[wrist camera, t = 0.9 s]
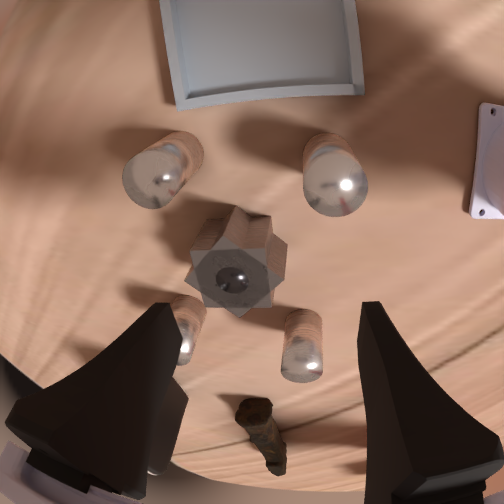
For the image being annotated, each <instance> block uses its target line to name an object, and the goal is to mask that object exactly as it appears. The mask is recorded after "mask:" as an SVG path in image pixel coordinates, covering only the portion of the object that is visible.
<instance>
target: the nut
mask: <svg viewBox="0 0 504 504" xmlns="http://www.w3.org/2000/svg"><path fill="white" fill-rule="evenodd" d="M287 245H288V244H286V243H285V242H284V241H282V240H281V239H280V238H278V237H277V236H276V235H275V234H273V228H272V219H271V216H264V217H251V216H250V215H248V214H247V213H246V212H244V211H243V210H242V209H240V208H239V207H238V206H235V207H234V208H233V210H232V211H231V212H230V213H229V214H228V215H227V217H226V218H225V219H209V220H206V222H205V223H204V225H203V227H202V229H201V231H200V232H199V234H198V236H197V238H196V240H195V241H194V243H193V245H192V247H191V249H190V255H191V259H192V263H193V264H192V266H191V268H190V270H189V272H188V274H187V276H186V278H185V280H184V281H185V282H186V283H188V284H189V285H191V286H192V287H194V288H195V289H197V290H198V291H200V292H201V295H202V298H203V302H204V305H205V307H214V308H225V309H227V310H228V311H230V312H231V313H233V314H235V315H236V316H238V317H239V318H240V317H242V316H243V315H244V314H245V313H246V312H247V311H249V310H250V309H251V308H272V304H273V297H274V290H275V287H277V286H278V285H279V284H280V283H281V282H282V281H284V277H285V267H286V256H287Z"/></svg>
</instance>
